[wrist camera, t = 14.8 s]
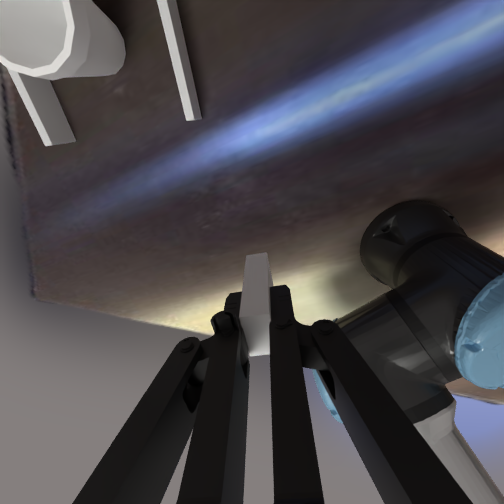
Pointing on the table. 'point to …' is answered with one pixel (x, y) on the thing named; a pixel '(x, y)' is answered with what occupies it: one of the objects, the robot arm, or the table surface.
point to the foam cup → (59, 39)
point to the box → (50, 111)
